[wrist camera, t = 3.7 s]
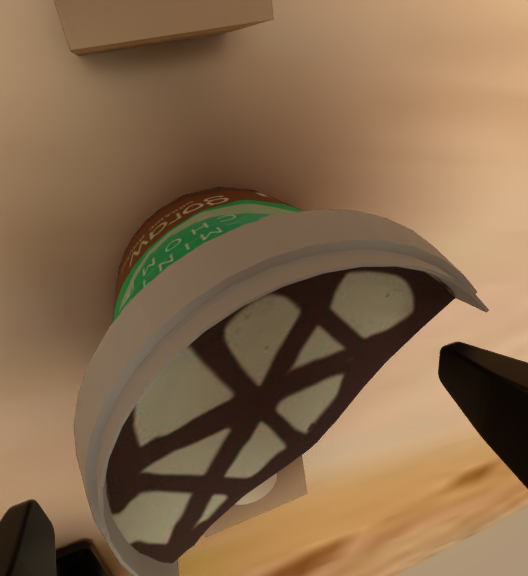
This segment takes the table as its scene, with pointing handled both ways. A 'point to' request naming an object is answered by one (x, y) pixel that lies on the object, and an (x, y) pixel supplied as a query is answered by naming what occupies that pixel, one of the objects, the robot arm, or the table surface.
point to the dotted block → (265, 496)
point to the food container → (238, 356)
